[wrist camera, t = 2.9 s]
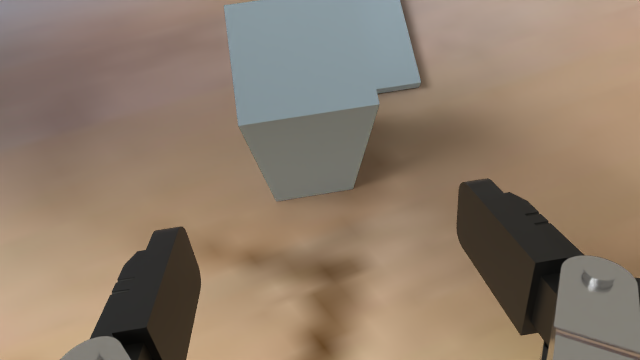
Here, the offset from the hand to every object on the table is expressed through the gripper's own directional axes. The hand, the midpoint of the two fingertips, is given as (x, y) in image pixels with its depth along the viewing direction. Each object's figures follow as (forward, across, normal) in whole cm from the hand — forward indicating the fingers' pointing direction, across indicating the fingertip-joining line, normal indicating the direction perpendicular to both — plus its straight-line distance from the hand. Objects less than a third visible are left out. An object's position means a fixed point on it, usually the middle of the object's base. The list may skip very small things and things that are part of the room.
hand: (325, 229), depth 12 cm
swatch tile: (+17, -4, -1) cm, 17 cm away
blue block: (+12, 0, +4) cm, 12 cm away
